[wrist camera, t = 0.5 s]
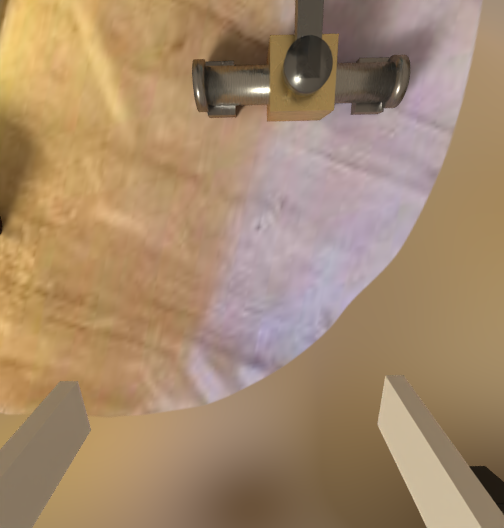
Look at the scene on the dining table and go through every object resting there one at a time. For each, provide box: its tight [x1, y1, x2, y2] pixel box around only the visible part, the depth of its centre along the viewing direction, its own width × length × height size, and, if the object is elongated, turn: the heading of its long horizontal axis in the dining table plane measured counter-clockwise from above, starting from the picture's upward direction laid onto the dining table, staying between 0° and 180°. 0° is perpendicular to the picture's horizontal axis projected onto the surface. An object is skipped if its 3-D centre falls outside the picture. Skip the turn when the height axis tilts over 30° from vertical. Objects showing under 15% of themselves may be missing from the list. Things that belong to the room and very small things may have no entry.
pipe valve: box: [192, 34, 410, 121], centre depth 29 cm, size 6×21×7 cm, turn 91°
